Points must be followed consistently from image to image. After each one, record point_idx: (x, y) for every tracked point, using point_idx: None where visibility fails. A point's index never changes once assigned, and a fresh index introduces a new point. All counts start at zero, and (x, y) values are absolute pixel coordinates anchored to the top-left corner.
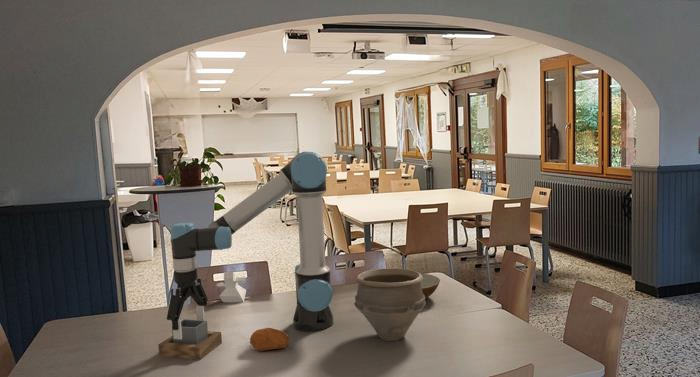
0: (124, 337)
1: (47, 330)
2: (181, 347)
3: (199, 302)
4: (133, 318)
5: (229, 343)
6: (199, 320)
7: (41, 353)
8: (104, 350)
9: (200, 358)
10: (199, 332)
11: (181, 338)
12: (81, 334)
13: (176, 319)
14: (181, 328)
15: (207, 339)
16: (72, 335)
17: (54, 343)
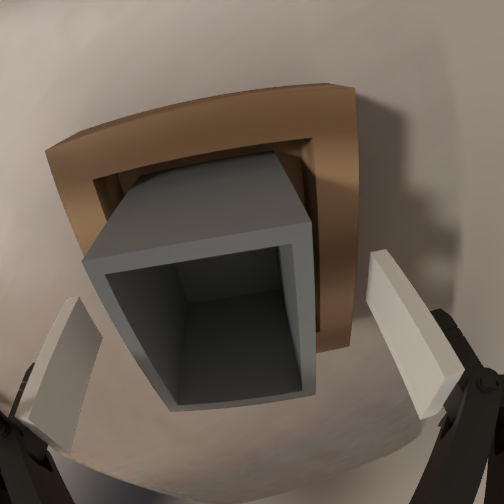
0: (231, 447)
1: (258, 498)
2: (355, 224)
3: (39, 466)
4: (139, 471)
5: (64, 88)
6: (119, 325)
7: (348, 465)
8: (319, 431)
9: (325, 83)
10: (236, 201)
11: (380, 252)
12: (253, 481)
13: (496, 375)
14: (404, 306)
15: (194, 134)
16: (263, 484)
17: (303, 478)
